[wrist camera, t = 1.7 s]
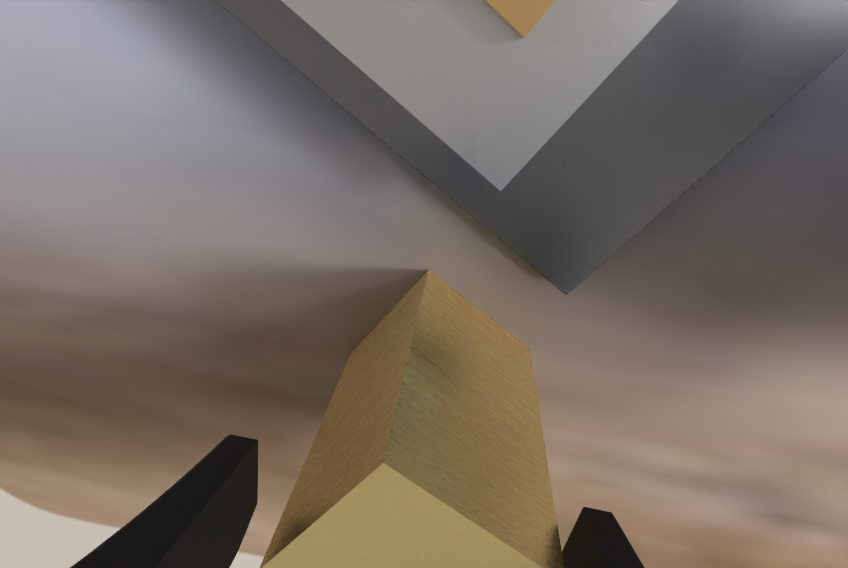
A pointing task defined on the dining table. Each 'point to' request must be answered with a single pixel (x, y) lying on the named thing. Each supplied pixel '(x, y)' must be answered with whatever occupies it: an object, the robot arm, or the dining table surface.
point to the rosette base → (557, 99)
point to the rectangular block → (426, 451)
